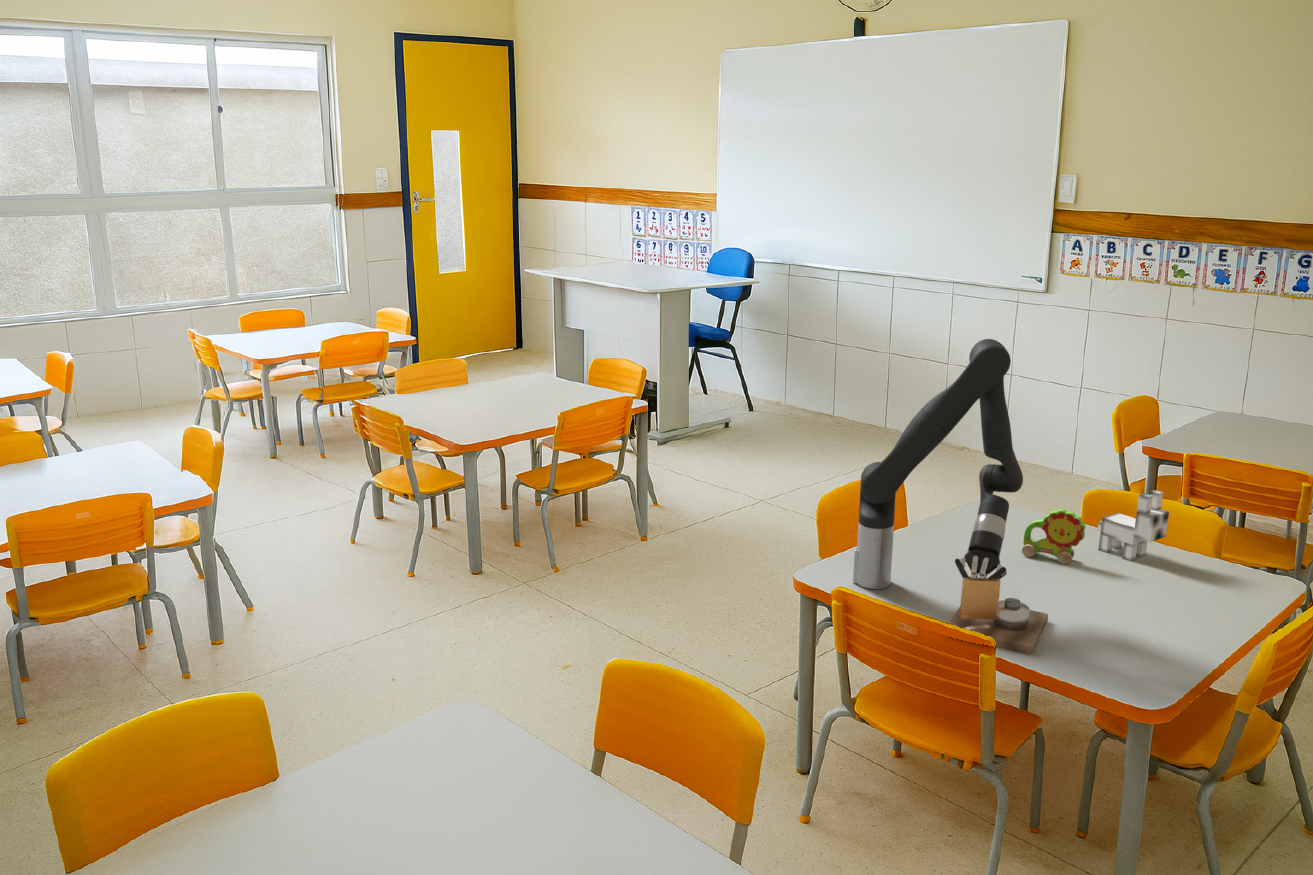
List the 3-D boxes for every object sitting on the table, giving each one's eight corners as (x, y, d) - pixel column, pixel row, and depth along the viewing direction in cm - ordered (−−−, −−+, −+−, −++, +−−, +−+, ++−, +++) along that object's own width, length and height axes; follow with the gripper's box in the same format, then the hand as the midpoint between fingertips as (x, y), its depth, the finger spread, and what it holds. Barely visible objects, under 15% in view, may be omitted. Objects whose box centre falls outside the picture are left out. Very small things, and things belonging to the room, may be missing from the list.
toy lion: (1020, 556, 285) (1025, 506, 281) (1024, 550, 289) (1029, 501, 285) (1079, 567, 276) (1085, 516, 272) (1082, 561, 281) (1088, 511, 277)
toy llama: (1106, 542, 295) (1114, 478, 289) (1162, 561, 280) (1171, 494, 275) (1090, 547, 291) (1098, 482, 285) (1146, 567, 277) (1156, 499, 271)
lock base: (945, 635, 238) (945, 626, 238) (965, 603, 255) (966, 595, 254) (1032, 655, 228) (1033, 646, 228) (1047, 621, 245) (1048, 612, 244)
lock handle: (1023, 615, 243) (1027, 574, 240) (1032, 630, 235) (1036, 587, 232) (956, 613, 244) (960, 572, 241) (963, 628, 237) (967, 585, 234)
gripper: (958, 524, 247) (943, 588, 241) (1014, 533, 241) (999, 599, 234) (962, 537, 253) (947, 599, 247) (1016, 546, 247) (1002, 610, 240)
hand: (973, 599), depth 240 cm, fingers closed
